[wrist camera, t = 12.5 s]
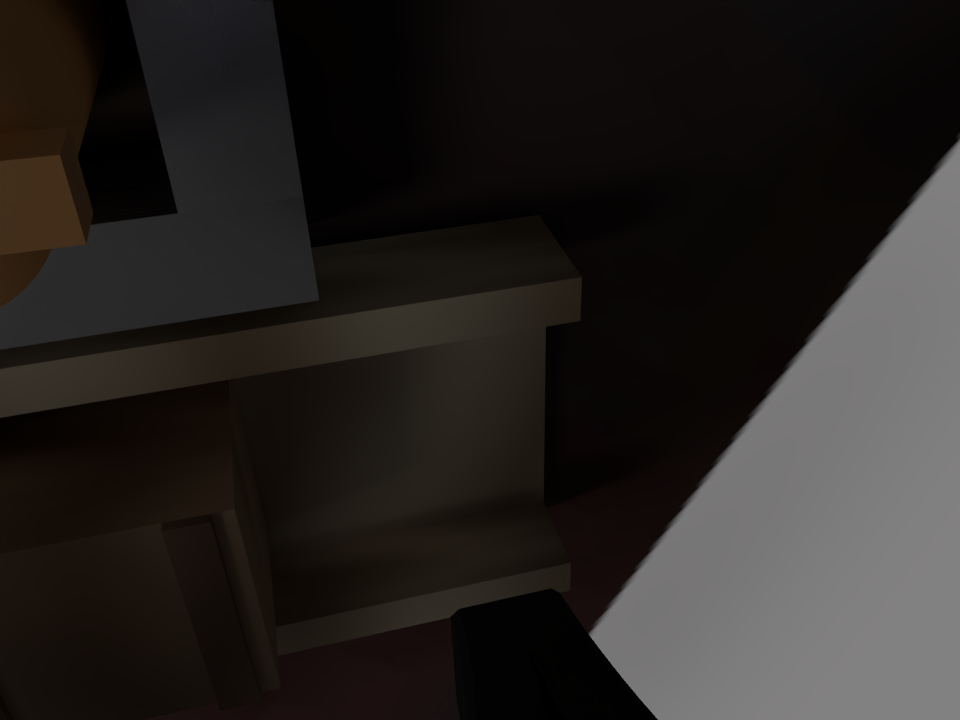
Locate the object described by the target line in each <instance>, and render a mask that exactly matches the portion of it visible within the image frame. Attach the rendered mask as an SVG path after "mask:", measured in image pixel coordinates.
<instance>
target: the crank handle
mask: <svg viewBox="0 0 960 720" xmlns="http://www.w3.org/2000/svg"><path fill="white" fill-rule="evenodd" d="M107 45H108V25H107V20H106V14H105V10H104V7H103V4H102V0H0V307H1V306H3V305H5V304H6V303H8V302H9V301H11V300H12V299H14V298H15V297H16V296H17V295H18V294H20V293H21V292H22V291H23V290H24V289H25V288H26V287H27V286H28V285H29V284H30V283H31V282H32V281H33V279H34V278H35V277H36V276H37V275H38V273H39V271H40V270H41V268H42V267H43V265H44V264H45V262H46V260H47V258H48V255H49V253H50V251H51V249H54V248H62V247H70V246H78V245H86V244H87V239H88V235H89V230H90V225H91V221H92V216H93V209H92V206H91V202H90V199H89V195H88V192H87V188H86V185H85V181H84V178H83V174H82V171H81V167H80V164H79V160H78V154H79V150H80V147H81V143H82V140H83V136H84V132H85V129H86V125H87V122H88V118H89V115H90V111H91V107H92V104H93V100H94V97H95V93H96V90H97V86H98V83H99V79H100V75H101V72H102V68H103V65H104V61H105V57H106V53H107Z"/></svg>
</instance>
